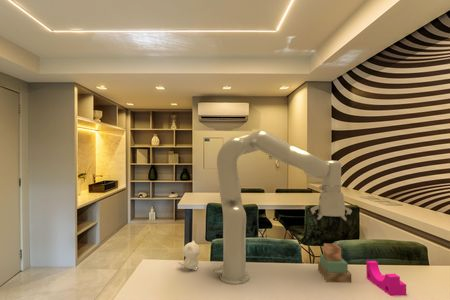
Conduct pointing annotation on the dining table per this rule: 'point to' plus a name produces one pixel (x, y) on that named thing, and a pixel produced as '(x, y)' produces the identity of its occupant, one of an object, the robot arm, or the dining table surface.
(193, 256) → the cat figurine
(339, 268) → the tower top
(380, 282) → the magenta curved bracket
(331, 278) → the tower base
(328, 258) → the terracotta cube
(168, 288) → the dining table surface
